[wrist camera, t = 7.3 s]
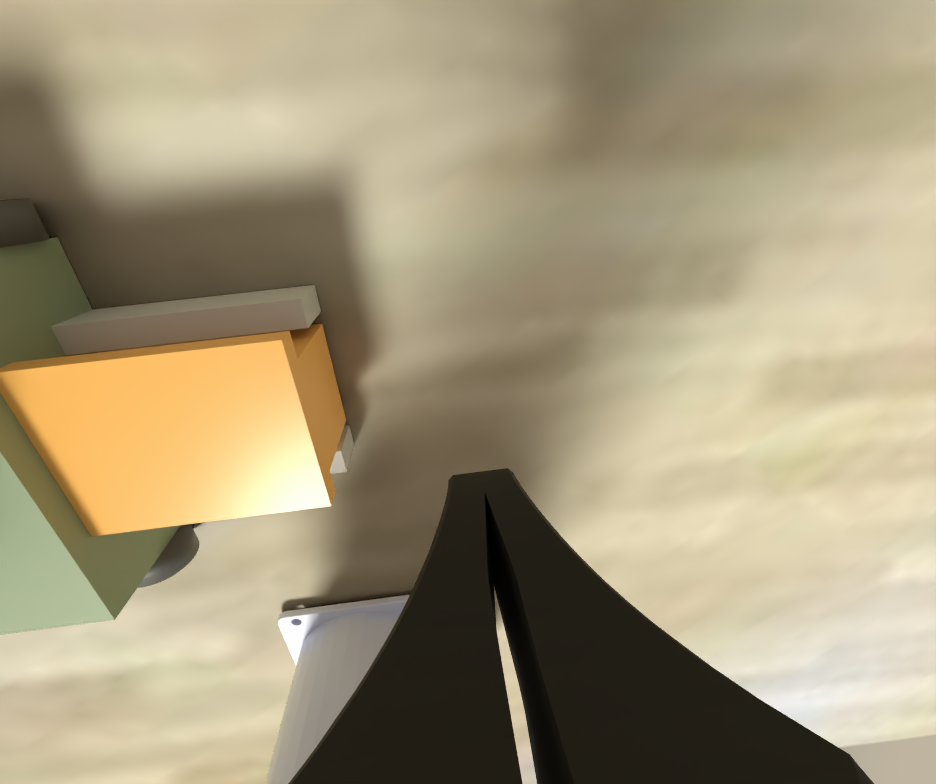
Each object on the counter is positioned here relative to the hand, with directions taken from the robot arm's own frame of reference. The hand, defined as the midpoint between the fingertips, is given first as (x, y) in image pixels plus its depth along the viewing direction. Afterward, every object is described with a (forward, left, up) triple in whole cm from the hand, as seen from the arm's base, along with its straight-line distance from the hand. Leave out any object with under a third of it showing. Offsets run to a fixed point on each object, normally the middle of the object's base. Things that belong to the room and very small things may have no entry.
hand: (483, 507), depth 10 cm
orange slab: (+9, 0, -9) cm, 12 cm away
